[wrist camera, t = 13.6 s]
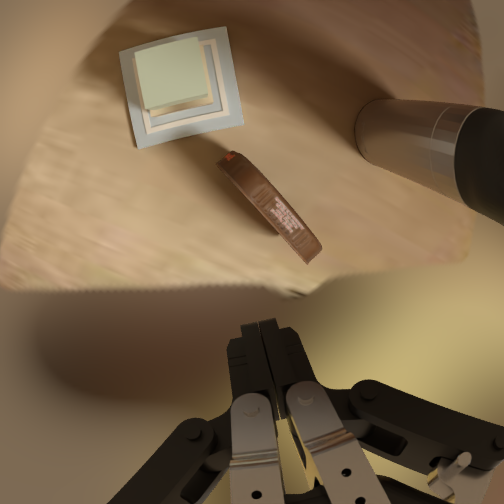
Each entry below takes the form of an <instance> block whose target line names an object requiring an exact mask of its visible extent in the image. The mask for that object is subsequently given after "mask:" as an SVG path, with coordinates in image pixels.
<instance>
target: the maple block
mask: <svg viewBox="0 0 504 504" xmlns="http://www.w3.org/2000/svg"><path fill="white" fill-rule="evenodd" d="M199 48H200V53H201V58H202V63H203V68H204V74H205V79H206V84H207V89H208V97H207V98H203V99H198V100H193V101H189V102H185V103H181V104H177V105H173V106H169V107H165V108H161V109H158V110H150V114H151V117H159V116H163V115H167V114H171V113H175V112H179V111H183V110H187V109H191V108H196V107H201V106H205V105H210V104H213V102H214V101H213V95H212V90H211V85H210V80H209V74H208V69H207V64H206V58H205V53H204V47H203V45H199Z"/></svg>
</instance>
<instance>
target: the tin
mask: <svg viewBox="0 0 504 504" xmlns="http://www.w3.org/2000/svg"><path fill="white" fill-rule="evenodd" d="M216 165H217V166H218V168H219V169H220V170H221V171H222V172H223V173H224V174H225V175H226V176H227V177H228V179H229V180H230V181H231V182H232V183H233V184H234V185H235V186H236V187H237V188H238V189H239V190H240V191H241V192H242V194H243V195H244V196H245V197H246V198H247V199H248V200H249V201H250V202H251V203H252V204H253V205H254V207H255V208H256V209H257V210H258V211H259V212H260V213H261V214H262V215H263V216H264V218H265V219H266V220H267V221H268V222H269V223H270V224H271V225H272V226H273V227H274V228H275V230H276V231H277V232H278V233H279V234H280V235H281V236H282V237H283V238H284V240H285V241H286V242H287V243H288V244H289V245H290V246H291V247H292V248H293V250H294V251H295V252H296V253H297V254H298V255H299V256H300V257H301V259H302V260H303V261H304V262H305V263H306V264H307V265H308V263H309V262H310V261H311V260H312V259H313V258H314V257H315V256H316V255H317V254H319V253H320V251H321V250H322V245H321V244H320V242H319V241H318V239H317V238H316V237H315V235H314V234H313V233H312V232H311V230H310V229H309V228H308V227H307V225H306V224H305V223H304V222H303V220H302V219H301V218H300V217H299V215H298V214H297V213H296V212H295V211H294V209H293V208H292V207H291V206H290V205H289V203H288V202H287V201H286V200H285V199H284V198H283V196H282V195H281V194H280V193H279V192H278V191H277V190H276V188H275V187H274V186H273V185H272V184H271V183H270V182H269V181H268V179H267V178H266V177H265V176H264V175H263V174H262V173H261V172H260V171H259V170H258V169H257V168H256V167H255V166H254V165H253V164H252V163H251V162H250V161H249V160H248V159H247V158H246V157H244V156H243V155H242V154H240V153H237V152H235V151H231V152H230V153H228V154H227V155H226V156H225V157H224V158H223V159H222V160H221V161H219V162H218V163H216Z"/></svg>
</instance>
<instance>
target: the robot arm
mask: <svg viewBox="0 0 504 504" xmlns="http://www.w3.org/2000/svg"><path fill="white" fill-rule="evenodd" d="M355 138H356V143H357V146H358V148H359V151H360V152H361V154H362V155H363V157H364V158H365V159H366V160H367V161H369V162H370V163H372V164H373V165H376V166H378V167H381V168H383V169H386V170H388V171H390V172H393V173H395V174H398V175H400V176H402V177H405V178H407V179H409V180H412V181H414V182H416V183H419V184H421V185H423V186H425V187H427V188H430V189H432V190H434V191H436V192H438V193H440V194H442V195H445V196H447V197H449V198H451V199H453V200H455V201H457V202H459V203H461V204H463V205H465V206H467V207H469V208H471V209H473V210H475V211H477V212H479V213H481V214H483V215H485V216H487V217H489V218H490V219H492V220H494V221H496V222H498V223H500V224H501V225H503V226H504V111H501V110H496V109H491V108H485V107H479V106H472V105H464V104H454V103H445V102H433V101H419V100H400V99H378V100H374V101H372V102H370V103H368V104H367V105H366V106H365V107H364V108H363V109H362V110H361V112H360V113H359V115H358V118H357V120H356V125H355ZM258 322H259V327H258V324H257V322H253V323H248V324H243V325H241V332H242V337H240V338H235V339H231V340H230V342H229V344H228V347H227V357H228V365H229V373H230V380H231V388H232V395H233V400H232V404H231V406H230V408H229V409H228V410H227V412H225V413H224V414H222V415H221V416H219V417H217V418H214V419H212V420H210V421H206V420H204V419H201V418H191V419H187V420H185V421H183V422H182V423H180V424H179V425H178V426H177V428H176V429H175V430H174V431H173V433H171V435H170V436H169V437H168V438H167V439H166V440H165V441H164V443H163V444H162V445H161V446H160V447H159V448H158V449H157V451H156V452H155V453H154V454H153V455H152V456H151V457H150V458H149V460H148V461H147V462H146V463H145V464H144V465H143V466H142V467H141V468H140V469H139V470H138V472H137V473H136V474H135V475H134V476H133V477H132V478H131V479H130V480H129V481H128V482H127V484H125V485H124V487H123V488H122V489H121V490H120V491H119V492H118V493H117V494H116V495H115V496H114V497H113V498H112V499H111V500H110V501H109V502H108V503H107V504H202V503H203V502H204V501H205V499H206V498H207V497H208V496H209V494H210V493H211V492H212V490H213V489H214V488H215V486H216V485H217V484H218V482H219V481H220V480H221V478H222V477H223V476H224V474H225V473H226V471H227V470H228V469H229V467H230V490H231V504H481V502H482V500H483V498H484V496H485V493H486V491H487V488H488V486H489V483H490V480H491V478H492V475H493V472H494V470H495V468H496V466H497V465H499V464H500V463H501V462H502V461H504V427H503V426H500V425H496V424H493V423H490V422H487V421H484V420H481V419H477V418H475V417H471V416H468V415H465V414H463V413H460V412H457V411H453V410H451V409H448V408H445V407H443V406H440V405H437V404H434V403H431V402H429V401H426V400H424V399H421V398H418V397H416V396H413V395H410V394H408V393H405V392H403V391H400V390H398V389H395V388H393V387H390V386H388V385H385V384H383V383H380V382H378V381H375V380H362V381H360V382H358V383H356V384H355V385H354V386H353V387H352V388H351V389H341V390H336V389H329V388H326V387H324V386H323V385H321V384H320V383H319V382H318V381H317V379H316V377H315V375H314V373H313V370H312V367H311V365H310V362H309V360H308V358H307V355H306V352H305V350H304V348H303V345H302V343H301V340H300V338H299V335H298V333H297V332H295V331H294V330H293V329H292V328H291V327H287V328H282V329H279V327H278V324H277V322H276V319H275V318H272V319H267V320H262V321H258ZM259 328H260V331H259ZM260 334H261V335H260ZM277 406H278V408H277ZM278 409H279V413H280V417H281V419H285V418H287V421H288V425H289V429H290V435H291V438H292V441H293V443H294V445H295V448H296V451H297V453H298V456H299V459H300V461H301V463H302V466H303V469H304V472H305V475H306V479H307V482H308V485H309V488H310V491H308V492H306V493H303V494H286V491H285V486H284V480H283V473H282V467H281V460H280V454H279V447H278V441H277V437H278V431H277V426H276V421H277V420H279V414H278ZM362 448H363V449H366V450H367V451H370V452H372V453H374V454H376V455H378V456H381V457H383V458H385V459H388V460H390V461H392V462H394V463H397V464H399V465H402V466H404V467H407V468H409V469H412V470H414V471H417V472H419V473H422V474H425V475H427V476H428V477H427V483H428V486H429V488H430V489H431V490H432V491H433V492H435V493H437V494H439V496H440V497H441V498H442V499H439V498H437V497H434V496H432V495H429V494H427V493H424V492H422V491H419V490H417V489H415V488H412V487H410V486H408V485H406V484H403V483H401V482H399V481H397V480H395V479H392V478H390V477H386V476H382V475H376V474H375V473H374V471H373V469H372V467H371V465H370V463H369V462H368V460H367V458H366V456H365V454H364V452H363V450H362Z"/></svg>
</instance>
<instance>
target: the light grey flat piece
mask: <svg viewBox="0 0 504 504" xmlns="http://www.w3.org/2000/svg"><path fill="white" fill-rule="evenodd" d="M192 37H198V42H199V45H203V47H204V53H205V58H206V64H207V69H208V74H209V80H210V85H211V90H212V95H213V101H214V102H213V104H210V105H205V106H201V107H196V108H191V109H187V110H183V111H179V112H175V113H171V114H167V115H163V116H159V117H151V114H150V110H148V109H145V106H144V101H143V96H142V91H141V86H140V81H139V76H138V70H137V65H136V59H135V52H138V51H141V50H144V49H148V48H151V47H155V46H159V45H162V44H166V43H170V42H174V41H178V40H183V39H187V38H192ZM119 57H120V63H121V69H122V75H123V81H124V86H125V91H126V97H127V102H128V107H129V111H130V116H131V121H132V125H133V130H134V134H135V139H136V143H137V147H138V149H142V148H145V147H149V146H152V145H156V144H160V143H164V142H167V141H171V140H175V139H179V138H183V137H188V136H192V135H196V134H201V133H205V132H210V131H215V130H220V129H225V128H230V127H235V126H241V125H244V120H243V114H242V109H241V103H240V98H239V92H238V87H237V81H236V76H235V70H234V65H233V60H232V54H231V49H230V44H229V39H228V33H227V28H226V26H225V27H218V28H212V29H206V30H200V31H195V32H190V33H185V34H181V35H176V36H172V37H168V38H164V39H160V40H156V41H152V42H149V43H145V44H142V45H139V46H135V47H132V48H129V49H126V50H123V51H120V52H119Z"/></svg>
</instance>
